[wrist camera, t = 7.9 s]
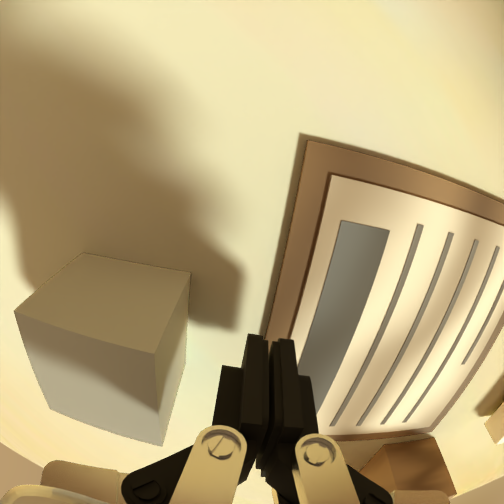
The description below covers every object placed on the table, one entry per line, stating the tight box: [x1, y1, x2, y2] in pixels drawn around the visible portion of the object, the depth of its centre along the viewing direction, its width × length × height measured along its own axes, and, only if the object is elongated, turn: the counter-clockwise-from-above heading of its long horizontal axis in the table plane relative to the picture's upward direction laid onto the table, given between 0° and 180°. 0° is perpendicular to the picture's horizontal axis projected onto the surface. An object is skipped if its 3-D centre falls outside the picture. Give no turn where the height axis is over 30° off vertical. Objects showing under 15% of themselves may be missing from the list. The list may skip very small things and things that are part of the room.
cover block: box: [14, 253, 191, 446], centre depth 10 cm, size 5×5×5 cm
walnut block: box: [359, 437, 457, 499], centre depth 15 cm, size 5×5×6 cm
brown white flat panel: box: [265, 140, 504, 441], centre depth 13 cm, size 14×16×1 cm
